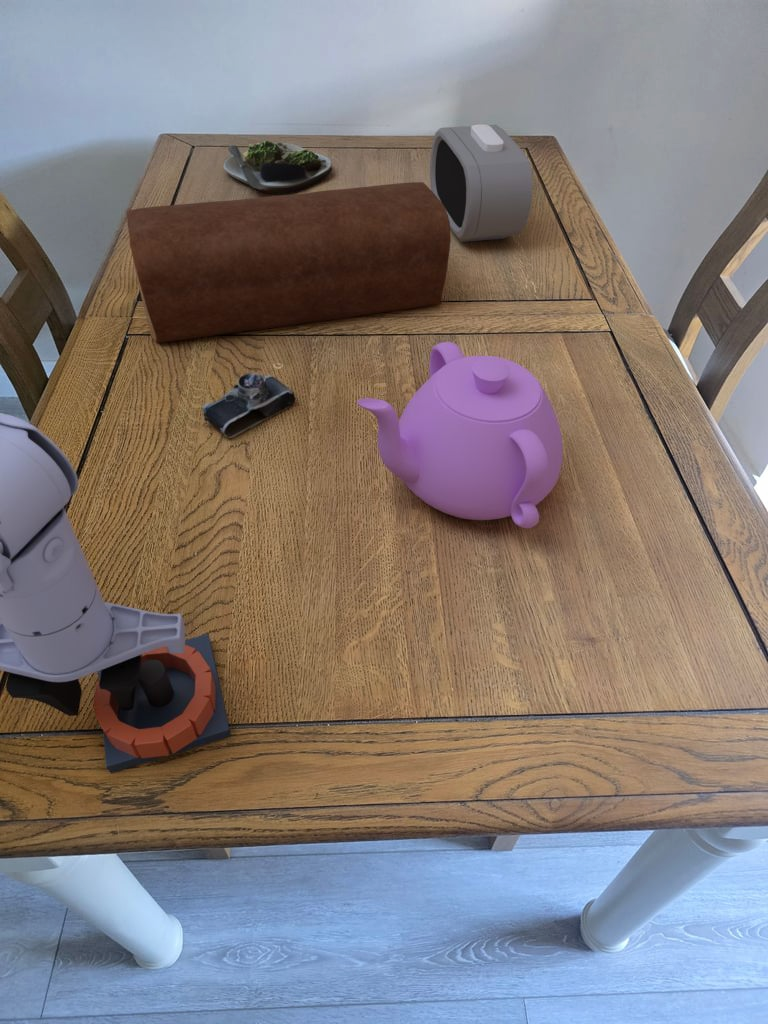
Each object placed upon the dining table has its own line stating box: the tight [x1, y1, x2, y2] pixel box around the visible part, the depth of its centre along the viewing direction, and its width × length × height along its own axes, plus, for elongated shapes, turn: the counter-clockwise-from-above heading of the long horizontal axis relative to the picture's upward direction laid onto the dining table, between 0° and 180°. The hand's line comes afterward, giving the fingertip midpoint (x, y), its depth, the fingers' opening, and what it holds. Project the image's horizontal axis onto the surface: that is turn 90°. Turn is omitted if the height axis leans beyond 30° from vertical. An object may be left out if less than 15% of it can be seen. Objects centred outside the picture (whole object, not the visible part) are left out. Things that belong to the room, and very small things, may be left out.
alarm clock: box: [429, 124, 534, 243], centre depth 109 cm, size 21×10×13 cm, turn 13°
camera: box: [201, 372, 297, 439], centre depth 79 cm, size 5×10×4 cm, turn 133°
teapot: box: [356, 341, 563, 529], centre depth 69 cm, size 22×22×14 cm
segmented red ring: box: [92, 645, 216, 758], centre depth 54 cm, size 8×8×2 cm
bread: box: [125, 181, 452, 344], centre depth 92 cm, size 16×39×13 cm, turn 107°
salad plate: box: [223, 140, 333, 196], centre depth 123 cm, size 19×18×5 cm
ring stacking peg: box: [97, 633, 232, 774], centre depth 54 cm, size 9×9×5 cm
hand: (102, 700), depth 53 cm, fingers open, 3 cm apart
